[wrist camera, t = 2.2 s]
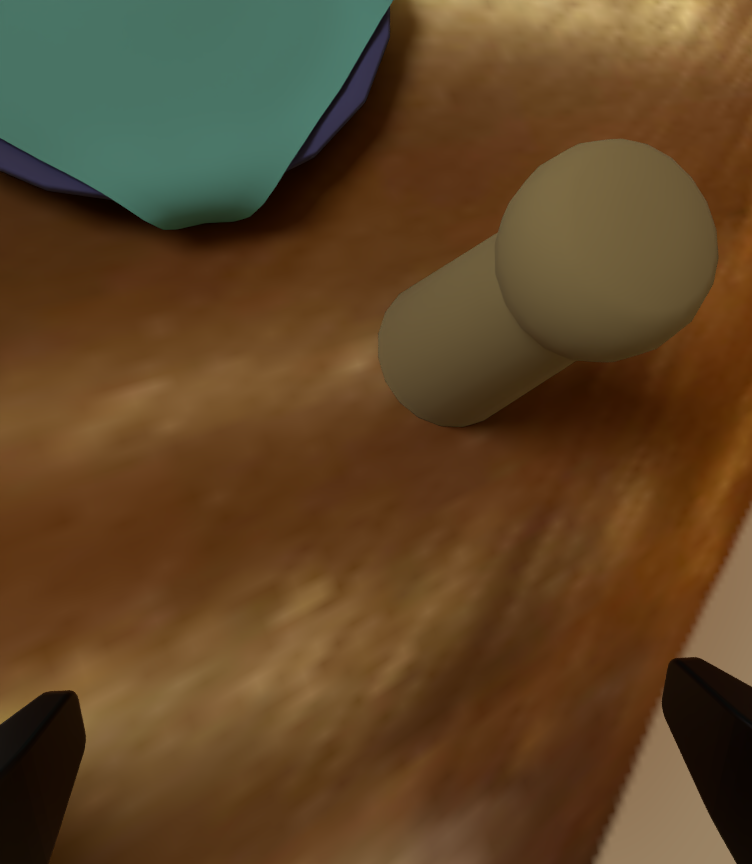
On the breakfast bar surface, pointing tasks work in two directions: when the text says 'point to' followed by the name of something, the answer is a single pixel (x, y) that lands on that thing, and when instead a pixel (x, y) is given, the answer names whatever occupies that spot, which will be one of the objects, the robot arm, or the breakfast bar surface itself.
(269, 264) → the breakfast bar surface
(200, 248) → the breakfast bar surface
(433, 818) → the breakfast bar surface
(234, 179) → the cutlery set
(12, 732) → the robot arm
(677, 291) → the cork
